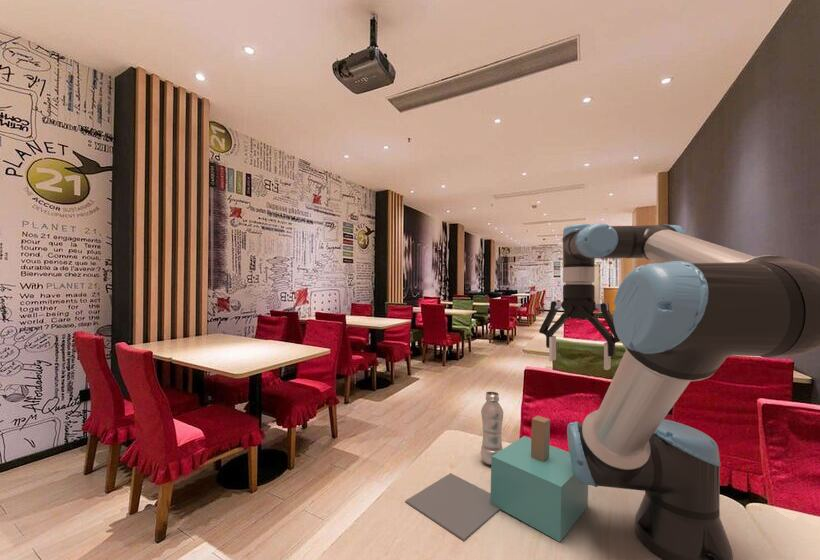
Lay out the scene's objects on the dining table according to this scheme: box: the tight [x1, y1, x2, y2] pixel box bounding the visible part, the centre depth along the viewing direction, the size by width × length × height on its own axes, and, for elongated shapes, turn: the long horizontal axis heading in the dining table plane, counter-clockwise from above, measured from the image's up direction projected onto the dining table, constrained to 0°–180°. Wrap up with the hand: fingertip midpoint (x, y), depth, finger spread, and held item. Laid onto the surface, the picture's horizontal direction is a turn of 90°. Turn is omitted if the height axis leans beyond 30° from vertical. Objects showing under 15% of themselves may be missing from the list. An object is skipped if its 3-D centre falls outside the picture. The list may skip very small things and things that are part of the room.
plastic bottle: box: [480, 391, 504, 466], centre depth 98 cm, size 6×7×20 cm
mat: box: [404, 472, 502, 542], centre depth 80 cm, size 17×17×1 cm
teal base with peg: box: [490, 415, 589, 543], centre depth 79 cm, size 16×16×20 cm
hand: (578, 364), depth 89 cm, fingers open, 13 cm apart
